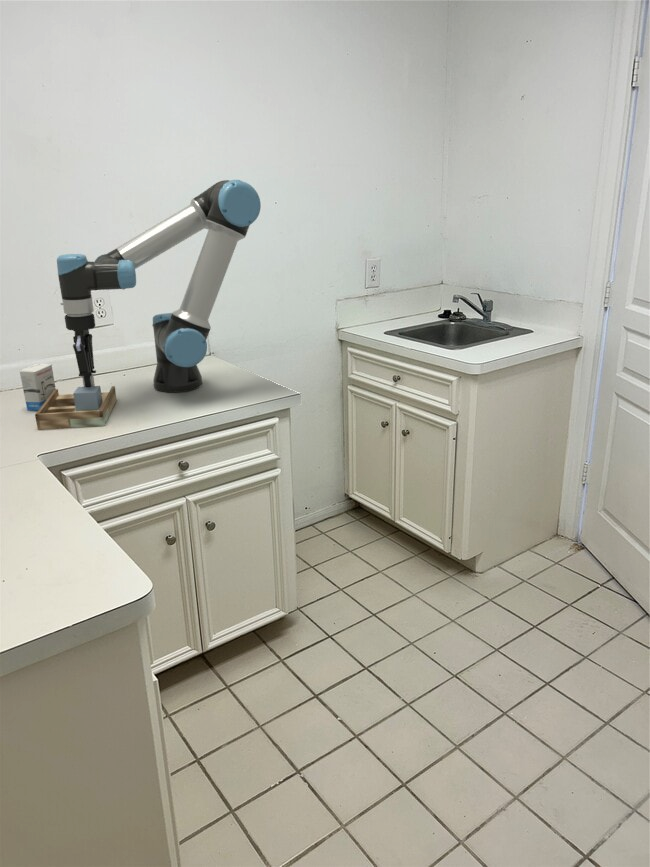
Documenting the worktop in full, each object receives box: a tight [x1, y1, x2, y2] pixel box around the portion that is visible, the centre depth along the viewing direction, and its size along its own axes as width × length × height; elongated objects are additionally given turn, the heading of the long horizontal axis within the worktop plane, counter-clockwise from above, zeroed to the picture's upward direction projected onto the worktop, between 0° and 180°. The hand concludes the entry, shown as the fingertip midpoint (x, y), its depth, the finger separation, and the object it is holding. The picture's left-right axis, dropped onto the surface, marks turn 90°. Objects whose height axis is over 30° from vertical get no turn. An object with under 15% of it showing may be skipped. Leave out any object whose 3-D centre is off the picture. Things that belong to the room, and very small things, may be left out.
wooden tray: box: [34, 385, 117, 430], centre depth 180 cm, size 17×22×4 cm
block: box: [72, 385, 103, 411], centre depth 178 cm, size 6×6×5 cm
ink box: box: [19, 363, 57, 412], centre depth 185 cm, size 9×5×12 cm, turn 168°
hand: (90, 396), depth 182 cm, fingers closed
